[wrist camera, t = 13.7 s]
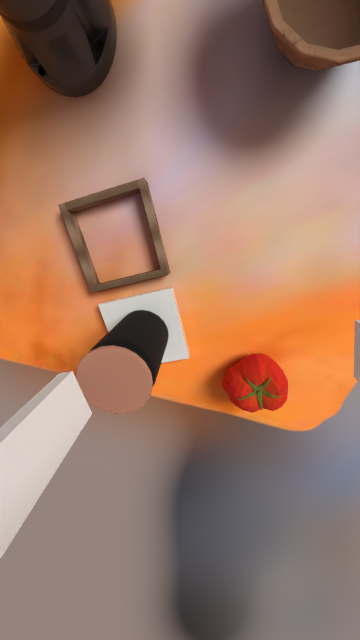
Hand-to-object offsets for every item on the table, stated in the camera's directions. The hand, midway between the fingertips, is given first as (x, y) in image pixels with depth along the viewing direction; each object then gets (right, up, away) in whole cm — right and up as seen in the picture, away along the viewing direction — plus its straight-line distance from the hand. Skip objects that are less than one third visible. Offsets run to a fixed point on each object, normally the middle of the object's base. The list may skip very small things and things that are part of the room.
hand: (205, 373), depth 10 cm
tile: (-9, +1, +38) cm, 38 cm away
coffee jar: (-9, 0, +36) cm, 37 cm away
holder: (-13, +18, +32) cm, 39 cm away
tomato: (+15, -9, +39) cm, 43 cm away
